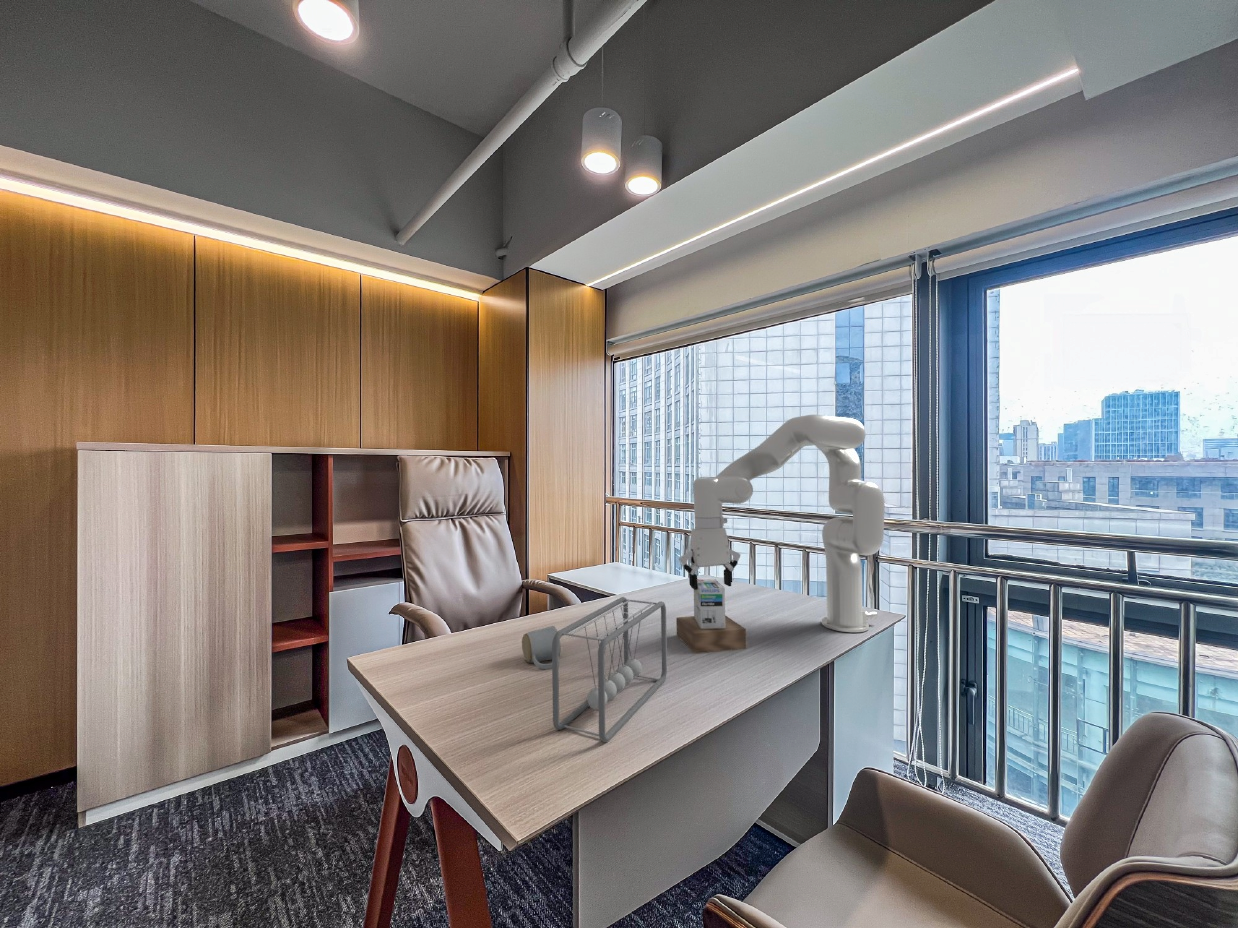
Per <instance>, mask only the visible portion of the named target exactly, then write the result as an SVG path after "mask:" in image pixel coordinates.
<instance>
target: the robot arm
mask: <svg viewBox="0 0 1238 928" xmlns="http://www.w3.org/2000/svg"><path fill="white" fill-rule="evenodd" d="M865 439H866V428H865V426H864V424H863V423H861V422H860V421H859V420H858V419H854V418H852V417H841V416H832V415H825V414H824V415H822V414H806V415H802V416H795V417H792V418H790V419H787V420H786V421H785V422H784V423H783V424H782V425H780V426H779V427H778V428H777V429H776V430H775V431H774V432H773V433H771V434H770V435H769V436H768V437H767V438H766V439H765V440H764V441H762V442H761V443H760V444H759V445H757V446H756V447H755V448H753V449H752V450H749V451H748V452H746V453H745V454H743V455H742V456H740V457H738V458H737V459H735V460H733V462H731V463H730V464H729V465H727V466H726V467H725V468H724V469H723V470H721V471H720V472H719V473H718V474H717V475H716V476H715V477H700V478H695V480H694V481H693V483H692V485H693V486H692V487H693V489H692V491H693V512H694V517H693V518H694V528H691V532H690V538H689V539H690V540H689V551H688V552H686V553H684V555H683V554H682V556H680V557H679V558H678V562H679V563H680V564H681V566H682V568H683V570H685V571H686V572H687V573H688V578H689V581H688V582H689V586H690V587H691V589H692V590H693V591H694V590H697V589H698V585H697V579H698V575H697V574H696V573H697V571H698V570H699V569H700V568H706V567H717V566H719V567H720V566H723V568H724V569H723V584H724V585H726V586H728V587H732V583H733V571H734V570H735V567H736V566H737V565H738V562H739V561H740V557H741V554H740V553H739V552H737V551H734V550H733V549H731V548H730V545H729V538H728V534H727V530H726V528H725V527H724V526H725V525H724V524H727V523H728V518H727V517H724V516H723V504H736V505H738V504H739V505H741V504H743V503H746V502H749V500H750V499H751V497H752V496H753V493H754V488H753V487H754V486H753V484H752V483H751V481H752V480H754V479H756V478H758V477H761V476H763V475H767V474H771V473H773V472H776V471H777V470H780V468H783V466H784V465H785V464H786V463H787V462H788V461H790V459H792V458H793V457H794V456H795V455H796V454H797V453H798V452H800V451H801V450H802V449H803V448H804V447H809V446H810V447H812V446H813V447H814V446H815V447H816V448H817V449H818V450H819V451H820V452H821V453H822V454H823V455H824V456H825V458H826V460H827V463H828V472H829V475H828V476H829V477H828V503H829V507H830V508H831V509H832V510H833V511H835V512H838V513H842V514H849V515H852V518H850V517H841V516H838V517H833V518H831V519H828V520H827V521H826V522H825V523H824V524H823V526H822V531H821V536H822V542H823V547H824V554H825V564H826V566H825V569H826V570H825V573H826V575H825V576H826V616H824V617H823V618H821V620H820V621H821V625H822V626H823V627H824V628H827V629H829V630H832V631H836V632H843V633H864V632H867V631H868V630H869V629H870V625H869V623H868V622H867V621H868V620H869V619H870V620H872V619H877V618H878V613H877V612H876V611H867V610H863V609H864V608H863V566H862V561H861V558H860V555H861V556H871V555H874V554H877V552H879V551H880V549H881V548H882V545H883V543H884V541H883V540H884V532H885V531H884V530H885V497H884V494H883V491H882V489H881V488H880V487H879V486H878V485H877V484H876V483H874V482H871V481H867V480H862V467H861V465H862V464H861V460H860V456H859V455H858V452H857V451H856V450H855V449H856V448H859V447H860V446H861V445H862V444H863V443H864V442H865ZM730 555H731V556H732V559H731V560H730V558H731V557H730ZM688 560H689V562H690V565H688V562H687V561H688Z"/></svg>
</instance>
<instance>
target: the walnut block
mask: <svg viewBox="0 0 1238 928" xmlns="http://www.w3.org/2000/svg"><path fill="white" fill-rule="evenodd" d="M675 618H676V622H675V623H676V625H675V626H676V637H678V639H680V640H681V642H683V643H684V644H685V645H686V646H687V647H688V648H689V649H690V650H691V651H692V652H693V653H694V654H701V653H712V652H723V651H731V650H732V651H733V650H744V649H747V637H746V636H747V630H746V629H747V628H745V627H744V626H743V625H741V624H740V623H738V622H736V621H735V620H733V619H732V618H730V617H728V616H727V615H726V614H725V628H717V629H701V628H700V626H699V624H698V623H697V621H696V619H695V618H694V615H692V616H691V615H690V616H678V617H675Z"/></svg>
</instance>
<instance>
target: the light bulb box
mask: <svg viewBox="0 0 1238 928" xmlns="http://www.w3.org/2000/svg"><path fill="white" fill-rule="evenodd" d="M697 585H698V589H697V590H694V589H693V614H694V615H693V616H694V618H695V619H696V621H697V623H698V624H699V626H700V628H701V629H717V628H725V615H726V598H725V597H726V592H725V591H726V589H725V587H724V586H723V585H722V584H721V583H720V582H719V581H718V580H717V579H715V578H712V579H711V578H710V579H705V578H704V579H703V578H702V579H700V578H699V579H698V578H697Z"/></svg>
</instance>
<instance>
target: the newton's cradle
mask: <svg viewBox="0 0 1238 928" xmlns="http://www.w3.org/2000/svg"><path fill="white" fill-rule="evenodd" d="M630 602H631V603H639V604H640V603H641V604H648V605H646V606H644V607H643V608H639V607H638V608H637V607H634V609H635V610H637V609H638V611H636V612H635V613H631V612H629V609H632V607H629V603H630ZM619 608H620V610H621V611H620V613H621V614H622V615H621V616H622V617H619V619H621V620H623V621H621V622H619V623H618V624H617V623H616V619H617V617H615V614H614V613H615V612H616V613H618V611H616V610H618V609H619ZM647 608H648V609H647ZM658 609H660V633H661V637H660V640H661V673H660V674H661V675H660V677H659V678H657V677H649V676H645V675H640V674H641V673H642V670H643V668H642V663H641V662H640V660H638V659H636V652H637V645H638V639H639V632H640V626H641V621H643V620H644V619H646V618H647V617H649V616H650V615H652V614H653V613H654V612H656V611H658ZM611 613H612V616H611V618H613V621H614V623H613V625H614V626H613V627H611V628H610V629H608V627H607V624H609V625H612V623H609V622H606V617H607V618H610V616H607V615H609V614H611ZM629 614H631V615H630V616H629ZM603 617H604V622H603V621H599V623H601V624H605V629H604V631H605V632H604V633H602V634H601V635H598V634H599V633H598V630H600V631H603V629H601V628H597V624H596V623H598V620H600V619H602V618H603ZM629 620H630V621H629ZM593 623H594V625H595V628H593V627H591V630H595V631H596V637H593V636H588V633H587V629H590V627H589V626H590V625H591V624H593ZM637 624H638V631H637V637H636V643H635V651H634V655H633V657H632V653H631V649H630V645H631V639H632V633H633V627H634V626H636V625H637ZM618 627H619V628H618ZM583 629H584V630H585V635H580V634H576V633H577V632H579V631H581V630H583ZM630 629H631V630H630ZM629 630H630V634H629ZM557 631H558V632H557V633H556V634H555V636H554V638H553V642H552V659H551V663H552V668H551V672H552V676H551V677H552V682H551V684H552V685H551V686H552V724H553V727H554V728H555V729H556V730H557V731H562V730H563V729H569V730H573V731H577V732H580V733H585V734H588V735H591V736H596V737H599V739H600V740H601V742H603V743H607V742H609V741H610V740H611V739H612V738H614V736H615V735H616V734H617V732H618V731H620V729H622V727H623V726H624V725H626V723H627V722H628V721H629V720H630V719H631V718H632V717H633V715H634V714H636V713H637V711H638V710H639V709H640V708H641V707H643V705H644V704H645V703H646V702H647V701H648V699H650V698H651V696H652V695H653V694H654V693H655V692H656V691H657V690H659V688H660V687H661V686H662V685H663V683H664V682H665V680H666V679H667V673H668V660H667V659H668V657H667V653H668V652H667V650H668V648H667V647H668V646H667V645H668V642H667V607H666V603H665V602H664V601H658V602H653V601H643V600H636V599H627V598H626V597H625V596H621V597H620V598H617V599H615V600H614V601H612V602H610V603H607V604H606V605H603V606H602V607H600V608H598V609H597V610H595V611H593V612H591V613H589V614H587V615H586V616H584V617H582V618H580V619H578V620H576V621H574V622H573V623H570V624H569V625H566V626H565V627H563V628H561V629H559V630H557ZM612 631H613V632H612ZM609 633H610V634H609ZM621 635H623V636H622V640H621V646H620V641H619V637H620V636H621ZM629 635H630V636H629ZM563 636H566V637H567V636H568V637H572V638H574V637H575V638H579V639H584V640H585V639H586V642H587V649H588V654H589V660H590V666H591V672H592V677H593V682H594V683H593V684H594V688H592V689H591V690H589V692H588V695H587V699H586V700H585V701H584V702H583V703H582V704H580V705H579V706H578V707H577V708H575V710H573V711H572V712H571V713H569V715H567V716H566V717H565V718H564V719H563V720H561V721H560V685H559V684H560V679H559V678H560V677H559V675H560V674H559V673H560V672H559V671H560V670H559V669H560V668H559V667H560V666H559V665H560V663H559V658H558V644H559V640H560V641H561V638H562V637H563ZM603 637H604V638H603ZM616 639H617V642H618V648H619V657H618V658H619V660H618V665H617V669H616V671H615V668H614V666H615V665H614V661H613V658H614V650H615V644H616ZM589 640H591V641H592V640H593V641H597V642H598V643H597V644H598V650H597V683H598V684H597V686H596V679H595V675H594V669H593V667H594V666H593V662H592V658H591V657H592V656H591V650H590V645H589ZM612 641H614V642H613V648H612V649H611V645H610V644H611V642H612ZM607 645H608V647H609V652H610V656H611V658H610V659H611V661H610V666H609V667H610V668H609V671H608V672H609V673H608V677H607V679H606V675H605V674H606V673H605V672H606V671H605V656H606V655H605V654H606V649H607ZM622 651H623V657H622ZM622 658H623V659H622ZM620 662H621V666H620ZM612 670H613V673H611V671H612ZM634 678H641V679H645V680H653V681H656V682H655V683H654V684H653V685H652V686H651V687H650V688H649V689H648V690H647V691H646V692H645V693H644V694H643V695H642V696H641V697H640V698H639V699H638V700H637V701H636V702H635V703H634V704H633V705H632V706H631V707H630V709H628V711H626V713H625V714H624V715H623V716H622V717H621V718H619V720H618V721H617V722H615V724H614V725H613V726H612V727H611V728H610V729H609V730H608V731H607V732H606V704H607V703H608V702H611V701H612V700H613V699H614V698H615V697H616V695H617V693H621V692H622V691H623V690H624V689H625V686H628V685H630V684H631V683H632V681H633V679H634ZM587 708H590V709H592V710H596V711H598V733H597V732H593V731H589V730H586V729H582V728H578V727H573V726H571V725H570V726H569V724H570V723H571V722H573V721H574V720H575V719H576V718H577V717H578V716H579V715H580V714H582V713H583V712H584V711H585V710H586V709H587Z"/></svg>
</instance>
